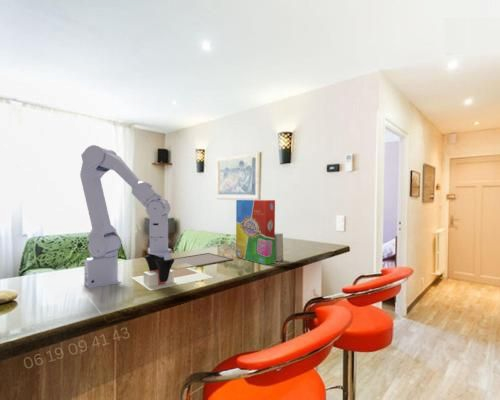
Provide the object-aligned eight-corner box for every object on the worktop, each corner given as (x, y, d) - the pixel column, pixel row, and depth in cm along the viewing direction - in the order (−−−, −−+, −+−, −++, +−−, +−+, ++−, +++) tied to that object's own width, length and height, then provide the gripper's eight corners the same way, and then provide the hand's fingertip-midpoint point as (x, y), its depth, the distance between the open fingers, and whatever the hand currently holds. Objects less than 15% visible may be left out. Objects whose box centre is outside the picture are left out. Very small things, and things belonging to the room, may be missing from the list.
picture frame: (208, 254, 141) (154, 263, 122) (208, 252, 141) (154, 261, 122) (232, 260, 127) (176, 272, 108) (232, 258, 127) (176, 269, 108)
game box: (235, 257, 133) (235, 199, 133) (244, 255, 136) (244, 199, 136) (266, 265, 117) (266, 199, 117) (275, 263, 120) (275, 199, 120)
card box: (149, 287, 86) (149, 275, 86) (143, 283, 90) (143, 271, 90) (173, 282, 92) (173, 270, 92) (167, 278, 95) (167, 268, 95)
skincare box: (283, 260, 125) (283, 233, 125) (276, 262, 123) (276, 234, 123) (273, 258, 130) (273, 232, 130) (266, 259, 127) (266, 232, 127)
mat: (150, 291, 83) (150, 290, 83) (130, 278, 97) (130, 277, 97) (213, 278, 97) (213, 276, 97) (188, 268, 111) (188, 267, 111)
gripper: (180, 237, 88) (180, 281, 88) (161, 233, 99) (161, 272, 99) (158, 240, 83) (158, 285, 83) (141, 235, 94) (141, 275, 95)
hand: (159, 278), depth 91 cm, fingers open, 7 cm apart
